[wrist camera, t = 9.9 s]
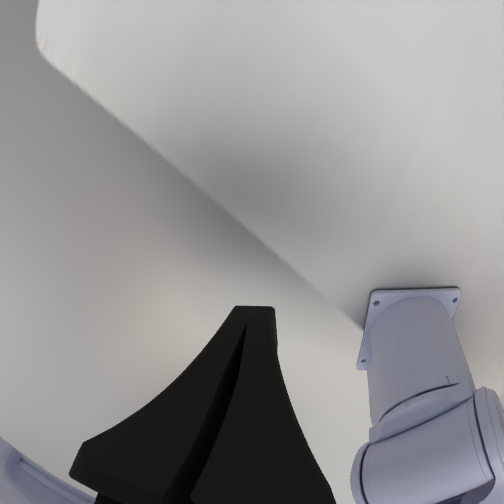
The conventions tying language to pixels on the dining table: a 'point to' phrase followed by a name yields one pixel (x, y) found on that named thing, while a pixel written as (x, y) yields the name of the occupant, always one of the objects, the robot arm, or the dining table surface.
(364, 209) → the dining table surface
